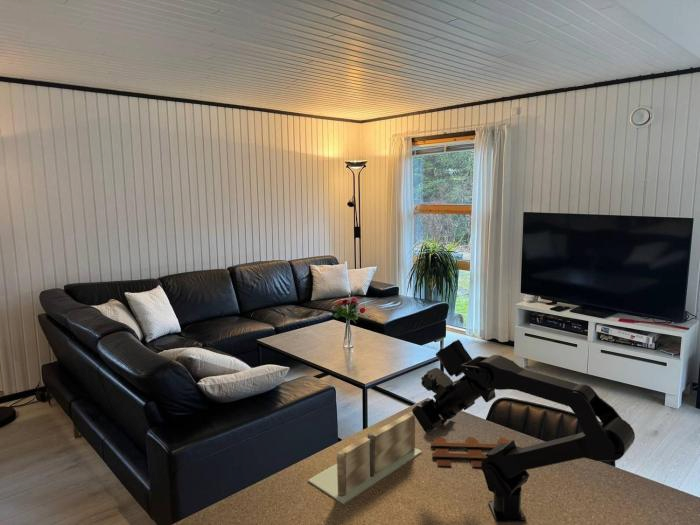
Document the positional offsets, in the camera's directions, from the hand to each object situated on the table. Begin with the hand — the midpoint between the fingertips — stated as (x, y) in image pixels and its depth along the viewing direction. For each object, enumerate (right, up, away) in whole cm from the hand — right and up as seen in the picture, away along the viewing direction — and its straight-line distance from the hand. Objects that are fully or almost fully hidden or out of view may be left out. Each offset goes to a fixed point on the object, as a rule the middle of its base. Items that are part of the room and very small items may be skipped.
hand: (424, 420), depth 121 cm
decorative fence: (+15, -13, +10) cm, 22 cm away
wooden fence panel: (-17, -14, -3) cm, 22 cm away
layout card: (-14, -13, +5) cm, 20 cm away
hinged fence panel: (-7, -12, +6) cm, 15 cm away
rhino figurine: (+9, -10, +25) cm, 28 cm away
